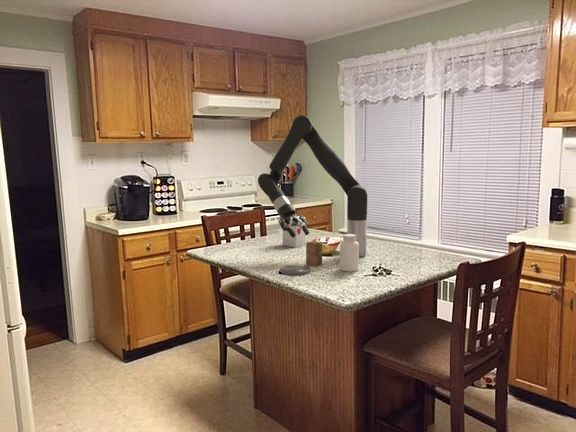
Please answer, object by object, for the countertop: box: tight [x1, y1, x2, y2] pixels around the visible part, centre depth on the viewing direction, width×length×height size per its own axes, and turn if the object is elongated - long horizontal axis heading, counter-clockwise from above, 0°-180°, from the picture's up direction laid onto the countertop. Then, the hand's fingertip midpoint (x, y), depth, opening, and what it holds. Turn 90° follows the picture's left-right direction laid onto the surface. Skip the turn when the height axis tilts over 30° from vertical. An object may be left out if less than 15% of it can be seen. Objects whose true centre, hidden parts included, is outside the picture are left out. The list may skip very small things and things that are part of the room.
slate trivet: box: [279, 264, 312, 276], centre depth 201 cm, size 13×13×1 cm
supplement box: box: [282, 216, 306, 248], centre depth 253 cm, size 9×9×15 cm
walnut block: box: [305, 240, 323, 267], centre depth 212 cm, size 5×5×10 cm
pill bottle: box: [339, 233, 360, 273], centre depth 202 cm, size 8×8×15 cm
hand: (301, 235), depth 217 cm, fingers open, 8 cm apart
